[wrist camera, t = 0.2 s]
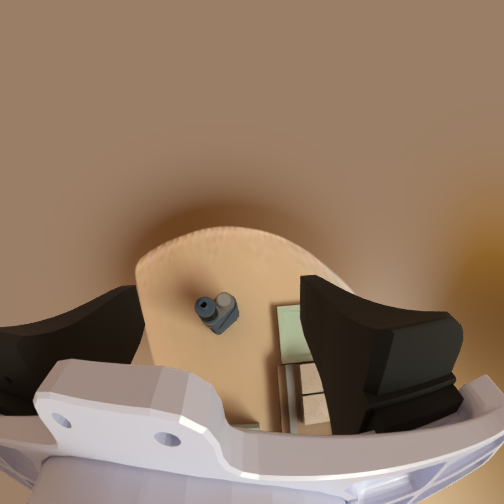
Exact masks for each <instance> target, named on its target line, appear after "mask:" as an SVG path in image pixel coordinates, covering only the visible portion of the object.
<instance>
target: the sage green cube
mask: <svg viewBox="0 0 504 504" xmlns="http://www.w3.org/2000/svg"><path fill="white" fill-rule="evenodd" d="M229 425H230V426H233V427H239V428H246V429H253V430H260V428H259V423H253V424H229Z"/></svg>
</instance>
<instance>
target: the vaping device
mask: <svg viewBox="0 0 504 504" xmlns="http://www.w3.org/2000/svg"><path fill="white" fill-rule="evenodd" d="M195 311H196V313H197V314H198V315H199V317H200V318H201V320H202V322H203V323H204V324H205V325H206V326H208V327H210V328H211V330H212V331H213V332H214V333H216V334H218V335H220V334H221V333H223V332H224V331H225V330H226V329H227V328H228V327H229V326H230V325H231V324H233V323H234V322H235V321H236V320H237V318H238V317H239V311H238V306H237V302H236V299H235V298H234V297H233V296H232V295H230V294H229V293H227V292H222V293H220V294H219V295H218V296H217V298H215V299H214V300H212V299H210V298H208V297H202V298H200V299H198V300H197V301H196V303H195Z"/></svg>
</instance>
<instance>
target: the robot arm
mask: <svg viewBox="0 0 504 504" xmlns="http://www.w3.org/2000/svg"><path fill="white" fill-rule="evenodd" d="M300 321H301V326H302V330H303V334H304V337H305V340H306V342H307V345H308V348H309V350H310V353H311V355H312V358H313V360H314V363H315V365H316V368H317V370H318V373H319V376H320V379H321V383H322V387H323V391H324V395H325V399H326V404H327V409H328V413H329V418H330V424H331V429H332V435H311V434H293V433H280V432H270V431H261V430H253V429H246V428H239V427H233V426H230V425H229V424H228V422H227V420H226V418H225V414H224V409H223V404H222V400H221V399H220V397H219V396H218V394H217V392H216V391H215V389H214V388H213V386H212V385H211V384H210V383H208V382H206V381H205V380H203V379H201V378H200V377H198V376H196V375H195V374H193V373H191V372H190V371H184V370H179V369H175V368H170V367H165V366H148V365H130V364H131V362H132V360H133V357H134V355H135V353H136V351H137V349H138V346H139V344H140V341H141V338H142V335H143V331H144V327H145V322H144V318H143V314H142V310H141V306H140V302H139V298H138V294H137V290H136V285H131V286H130V285H129V286H121V287H118V288H115V289H114V290H111V291H109V292H107V293H105V294H103V295H101V296H99V297H97V298H95V299H94V300H92V301H90V302H88V303H86V304H83V305H81V306H79V307H77V308H75V309H73V310H71V311H68V312H66V313H63V314H61V315H58V316H55V317H52V318H49V319H46V320H42V321H39V322H34V323H30V324H25V325H19V326H11V327H0V470H1V471H2V472H4V473H5V474H7V475H8V476H10V477H11V478H13V479H14V480H16V481H18V482H19V483H21V484H22V485H24V486H26V487H27V488H29V489H30V490H32V492H31V494H30V497H29V499H28V502H27V504H416V503H418V502H420V501H422V500H424V499H426V498H428V497H430V496H432V495H433V494H435V493H437V492H439V491H441V490H442V489H444V488H446V487H447V486H449V485H451V484H453V483H455V482H456V481H458V480H459V479H461V478H463V477H464V476H466V475H467V474H469V473H471V472H473V471H474V470H476V469H477V468H479V467H480V466H482V465H483V464H485V463H486V462H487V461H488V460H489V459H490V458H491V457H492V456H493V455H494V454H495V452H496V451H497V450H498V449H499V448H500V447H501V446H502V444H503V443H504V394H503V393H502V392H501V390H500V389H499V388H498V387H497V386H496V385H495V384H494V382H493V381H492V380H491V379H490V378H489V377H488V376H487V374H486V375H483V376H481V377H479V378H477V379H475V380H472V381H470V382H468V383H466V384H465V385H463V386H462V387H461V388H460V389H459V390H457V388H456V387H455V386H454V385H453V384H454V383H455V381H456V377H455V376H454V375H453V373H452V372H451V371H452V369H453V366H454V364H455V362H456V359H457V357H458V354H459V352H460V349H461V345H462V342H463V329H462V326H461V325H460V324H459V323H458V322H457V321H456V320H455V319H454V318H453V317H452V316H451V315H450V314H449V313H448V312H434V311H415V310H406V309H400V308H395V307H390V306H385V305H382V304H378V303H375V302H372V301H369V300H366V299H363V298H361V297H358V296H356V295H354V294H352V293H349V292H347V291H345V290H343V289H341V288H339V287H338V286H336V285H334V284H332V283H330V282H328V281H326V280H325V279H323V278H321V277H319V276H317V275H306V276H300Z"/></svg>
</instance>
